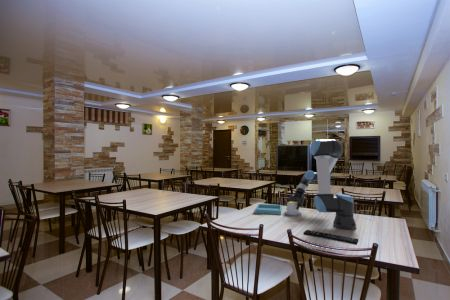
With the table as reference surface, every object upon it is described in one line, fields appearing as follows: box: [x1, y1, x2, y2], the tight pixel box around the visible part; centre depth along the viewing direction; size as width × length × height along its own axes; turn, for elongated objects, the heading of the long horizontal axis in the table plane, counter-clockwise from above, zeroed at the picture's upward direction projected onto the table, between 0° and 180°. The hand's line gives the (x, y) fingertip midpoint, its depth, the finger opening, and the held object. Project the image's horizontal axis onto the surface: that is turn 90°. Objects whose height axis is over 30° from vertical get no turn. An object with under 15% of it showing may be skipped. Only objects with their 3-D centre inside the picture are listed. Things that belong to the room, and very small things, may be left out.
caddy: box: [286, 200, 300, 215], centre depth 218 cm, size 7×7×10 cm
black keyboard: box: [303, 229, 359, 245], centre depth 163 cm, size 8×32×2 cm, turn 55°
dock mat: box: [284, 210, 303, 217], centre depth 218 cm, size 14×14×1 cm
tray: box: [254, 203, 283, 216], centre depth 229 cm, size 22×22×4 cm
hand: (290, 211), depth 216 cm, fingers closed on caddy, 7 cm apart
